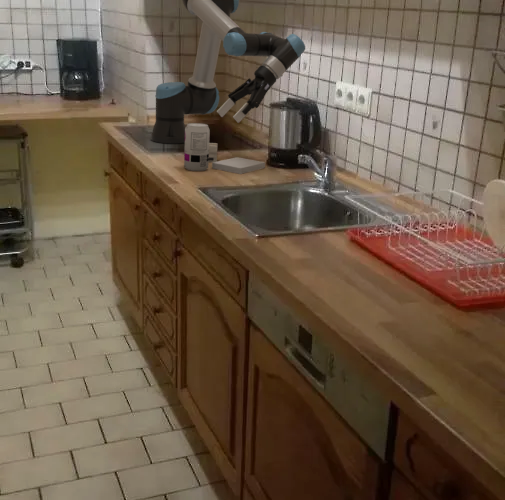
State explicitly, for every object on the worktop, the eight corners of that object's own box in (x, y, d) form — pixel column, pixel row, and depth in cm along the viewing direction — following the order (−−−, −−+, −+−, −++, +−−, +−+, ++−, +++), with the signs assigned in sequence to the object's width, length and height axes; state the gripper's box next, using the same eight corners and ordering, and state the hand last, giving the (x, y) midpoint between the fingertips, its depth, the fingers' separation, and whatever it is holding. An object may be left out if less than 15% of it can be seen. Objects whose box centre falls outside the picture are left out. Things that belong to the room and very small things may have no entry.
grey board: (237, 162, 246) (237, 157, 245) (264, 167, 239) (265, 162, 239) (212, 168, 234) (212, 162, 233) (240, 174, 228) (240, 168, 227)
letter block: (200, 158, 248) (200, 142, 246) (216, 159, 249) (217, 143, 247) (199, 162, 242) (200, 145, 241) (216, 162, 243) (217, 146, 241)
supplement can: (179, 169, 230) (180, 124, 225) (192, 165, 236) (193, 122, 232) (199, 172, 226) (201, 127, 221) (212, 168, 233) (214, 125, 228)
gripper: (293, 84, 223) (249, 130, 222) (259, 77, 245) (219, 119, 243) (280, 67, 219) (235, 114, 218) (247, 61, 241) (206, 104, 239)
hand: (227, 117), depth 230 cm, fingers open, 13 cm apart
